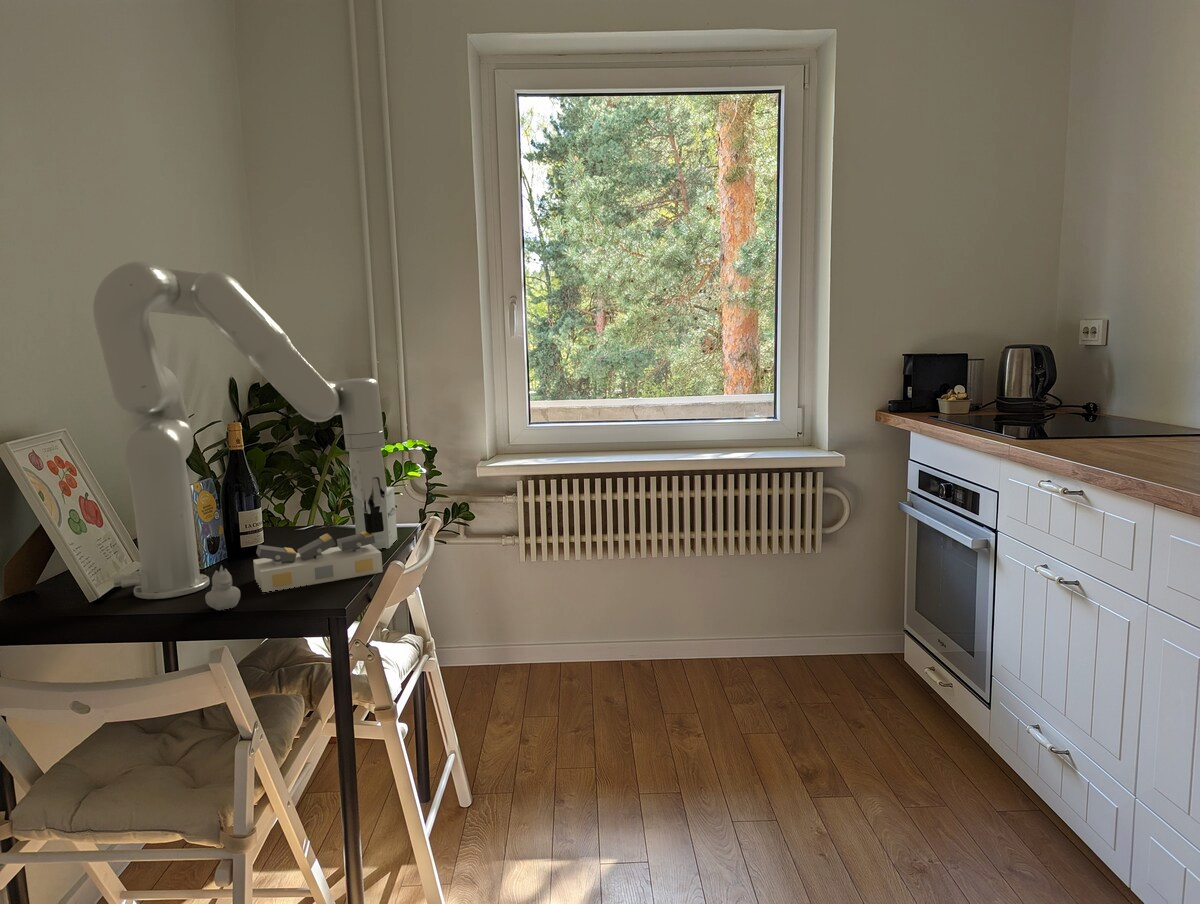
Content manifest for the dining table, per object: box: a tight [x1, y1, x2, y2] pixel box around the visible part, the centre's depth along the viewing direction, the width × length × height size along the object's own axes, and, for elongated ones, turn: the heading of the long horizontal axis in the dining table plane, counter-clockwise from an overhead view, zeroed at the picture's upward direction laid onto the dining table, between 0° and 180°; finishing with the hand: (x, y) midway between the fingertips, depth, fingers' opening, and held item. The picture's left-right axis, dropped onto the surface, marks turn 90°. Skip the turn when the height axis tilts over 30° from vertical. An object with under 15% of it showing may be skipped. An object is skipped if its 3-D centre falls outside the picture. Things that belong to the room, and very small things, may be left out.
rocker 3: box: [336, 531, 375, 551], centre depth 160 cm, size 6×5×2 cm
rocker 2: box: [296, 533, 337, 561], centre depth 157 cm, size 6×5×2 cm
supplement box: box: [352, 486, 398, 550], centre depth 179 cm, size 7×7×13 cm
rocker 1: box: [255, 544, 297, 562], centre depth 153 cm, size 6×5×2 cm
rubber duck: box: [204, 564, 241, 611], centre depth 139 cm, size 5×7×8 cm
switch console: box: [252, 544, 384, 593], centre depth 157 cm, size 22×10×5 cm, turn 120°
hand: (374, 531), depth 162 cm, fingers closed
